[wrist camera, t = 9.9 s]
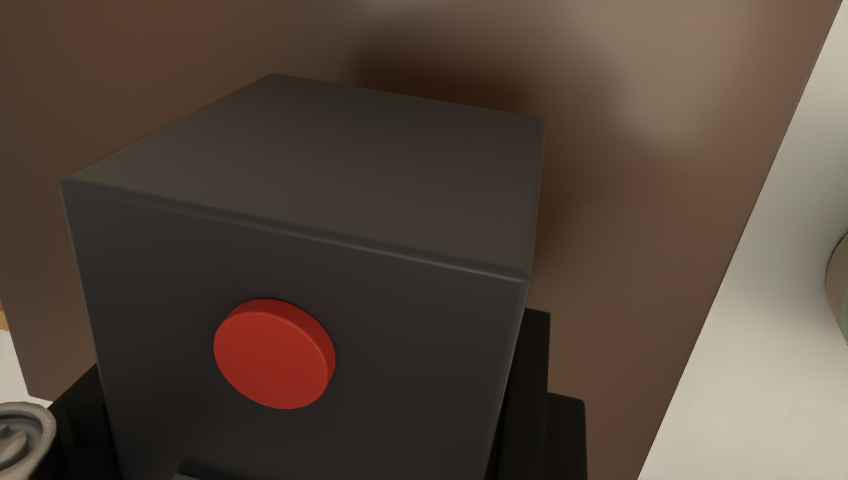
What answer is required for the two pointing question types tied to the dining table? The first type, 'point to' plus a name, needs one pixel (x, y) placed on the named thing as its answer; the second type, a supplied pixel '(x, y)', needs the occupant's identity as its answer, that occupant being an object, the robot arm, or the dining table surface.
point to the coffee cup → (839, 285)
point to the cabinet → (458, 83)
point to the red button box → (309, 283)
